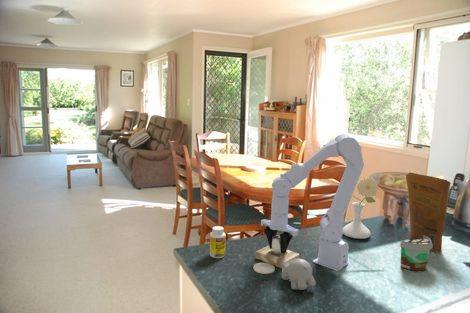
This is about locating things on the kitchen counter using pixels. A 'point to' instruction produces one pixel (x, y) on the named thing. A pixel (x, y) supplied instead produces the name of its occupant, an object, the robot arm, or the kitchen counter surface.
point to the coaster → (264, 268)
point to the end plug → (276, 246)
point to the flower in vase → (356, 227)
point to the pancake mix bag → (427, 207)
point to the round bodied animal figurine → (298, 274)
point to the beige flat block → (266, 256)
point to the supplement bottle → (217, 242)
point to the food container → (415, 254)
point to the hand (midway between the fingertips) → (277, 250)
